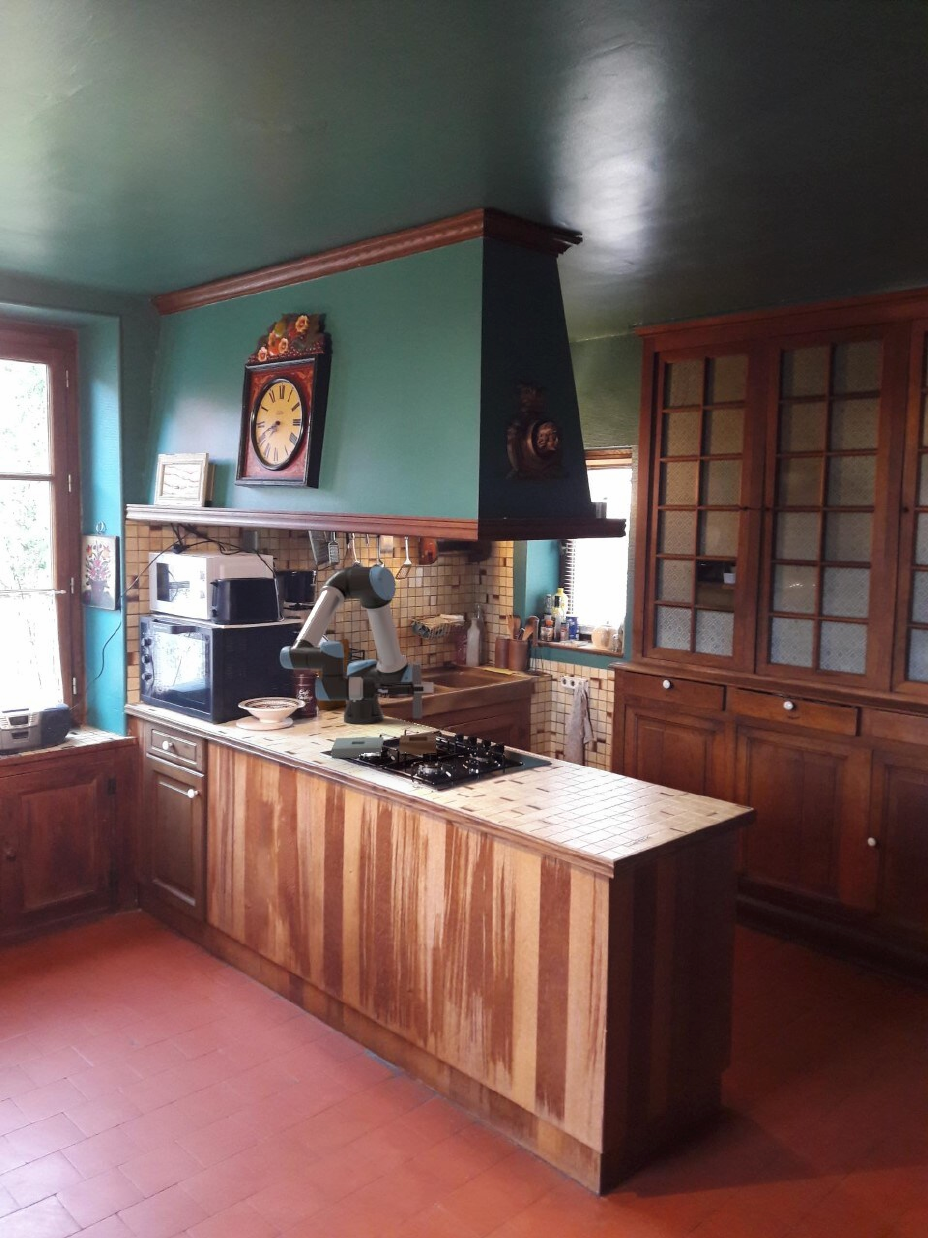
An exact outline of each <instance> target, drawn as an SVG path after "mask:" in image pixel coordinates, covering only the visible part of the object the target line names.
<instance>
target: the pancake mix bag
mask: <svg viewBox="0 0 928 1238" xmlns="http://www.w3.org/2000/svg"><path fill="white" fill-rule="evenodd" d="M335 641H336V642H341V643H342V644H343V649H344V677H345V678H347V667H348V665H349V651H350V643H349V642H350V641H349V639H348V638H344V639H338V640H335ZM321 673H322V672H321V670H317V675H318V674H319V678H321V676H322V674H321ZM346 706H347V700H337V701H328V700H318V699H317V709H318V708H319V710H328V711H331V710H330V709H332V710H336V709H340V708H346Z"/></svg>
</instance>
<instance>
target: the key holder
mask: <svg viewBox="0 0 928 1238" xmlns="http://www.w3.org/2000/svg"><path fill="white" fill-rule="evenodd" d="M400 750H403V751H405V752H406V753H408V754H427V753H436V754H437V734H400V738H399V751H400Z"/></svg>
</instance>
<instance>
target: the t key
mask: <svg viewBox="0 0 928 1238" xmlns="http://www.w3.org/2000/svg"><path fill="white" fill-rule="evenodd" d="M412 665H413V666H412V685H414V684H422V683H423V682H422V665H421V660H413V661H412ZM412 719H423V693H414V695H412Z"/></svg>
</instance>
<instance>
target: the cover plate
mask: <svg viewBox="0 0 928 1238" xmlns="http://www.w3.org/2000/svg"><path fill="white" fill-rule="evenodd" d="M384 741H385V740H384V736H382V737H381V736H379V737H378V736H375V737H374V736H373V737H369V736H367V737H366V736H365V737H337V738H335V741H334V743H333V744H332V747H331V758H332V759H337V758H338V759H339V758H340V759H342V758H345V759H346V758H347V759H348V758H350V759H351V758H359V757H358V756H359V755H361V754H364V753H371V752H381V750H382V747H383V748H384V746H383V742H384Z"/></svg>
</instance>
